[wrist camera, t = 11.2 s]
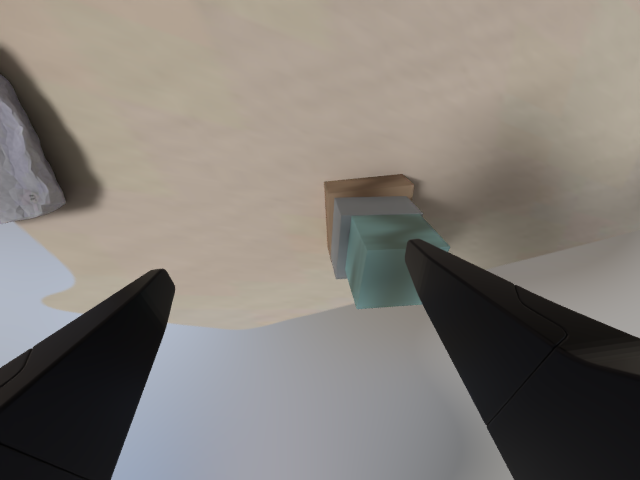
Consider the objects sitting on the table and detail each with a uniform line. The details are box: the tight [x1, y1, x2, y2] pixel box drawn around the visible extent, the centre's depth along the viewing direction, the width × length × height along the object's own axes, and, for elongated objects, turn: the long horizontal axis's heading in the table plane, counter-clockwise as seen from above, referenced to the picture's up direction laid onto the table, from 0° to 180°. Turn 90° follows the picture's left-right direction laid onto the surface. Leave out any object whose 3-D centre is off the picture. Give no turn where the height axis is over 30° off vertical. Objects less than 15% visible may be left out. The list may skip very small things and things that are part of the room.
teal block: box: [345, 214, 450, 309], centre depth 17 cm, size 5×5×4 cm
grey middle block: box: [331, 196, 423, 279], centre depth 20 cm, size 6×6×3 cm
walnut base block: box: [324, 174, 414, 262], centre depth 22 cm, size 7×7×3 cm
